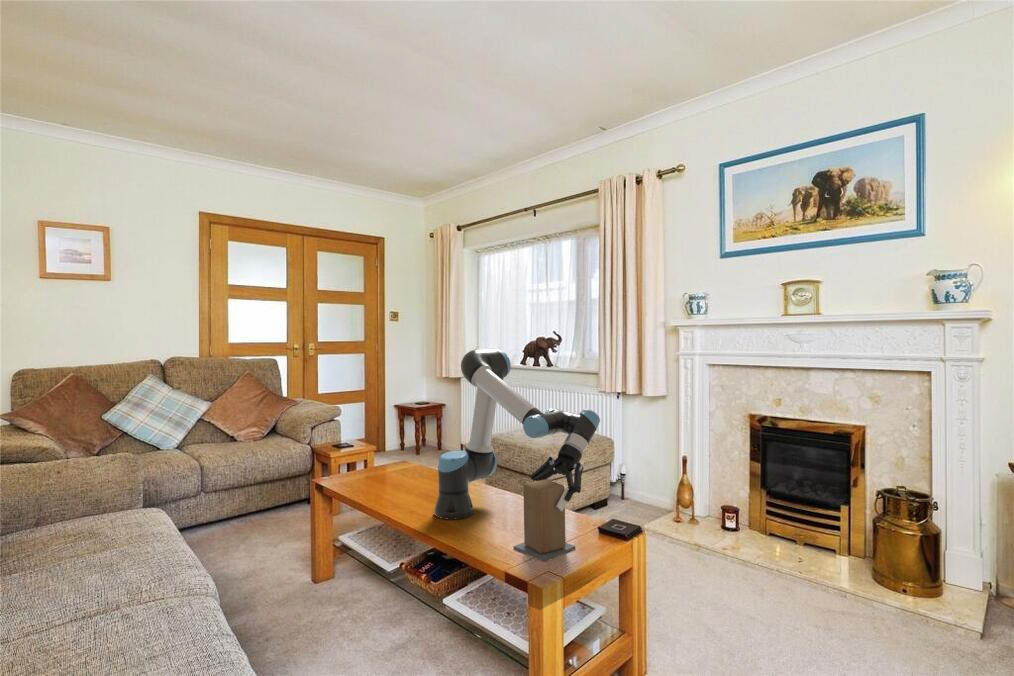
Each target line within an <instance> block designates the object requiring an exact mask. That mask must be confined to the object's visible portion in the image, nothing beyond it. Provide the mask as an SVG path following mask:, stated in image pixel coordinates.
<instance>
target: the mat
mask: <svg viewBox="0 0 1014 676" xmlns="http://www.w3.org/2000/svg"><path fill="white" fill-rule="evenodd" d="M574 548H576V545H573V544H570V543H567V542H566V546H565V548H563V549H559V550H555V551H551V552H547V553H544V554H540V553H538V552H536V551H535V550H533V549H531V548H530V547H528V546H526V545H525V542H524V541H523V542H521V543H518V544H516V545H513V550H514V551H517V552H520V553H522V554H525V555H527V556H530V557H532V558H535V559H538V560H541V561H543V562H548V560H549V561H550V559H551V560H553V559H555V558H557V556H558V557H560V556H561V554H562V555H564V554H567V553H568V551H569V552H571V551H573V550H572V549H574ZM570 550H571V551H570ZM574 550H575V549H574ZM566 552H567V553H566ZM559 555H560V556H559Z"/></svg>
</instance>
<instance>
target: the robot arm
mask: <svg viewBox="0 0 1014 676" xmlns="http://www.w3.org/2000/svg"><path fill="white" fill-rule="evenodd" d="M511 369H512V365H511V359H510V357H508V354H507V353H506V352H504V351H503V350H501V349H495V348H494V349H493V348H491V349H473V350H470V351H468V352H467V353H466V354H464V356H463V357H462V359H461V363H460V370H461V374H462V375H463V377H464V378H465V379H466V381H467V382H468V383H470V384H471V385H472V386H474V387H475V388H476V395H475V402H474V407H473V408H474V409H473V418H472V424H471V430H470V431H471V432H470V440H469V441H468V442H467V443H466V444H465V446H464V447H465V449H464V450H452V451H451V450H450V451H447V452H445V453H442V454H441V455H440V456H439V457H438V465H437V471H438V472H437V473H438V474H437V475H438V496H437V499H436V503H435V507H434V510H433V511H434V515H435V514H436V515H437V516H439V517H442V518H448V519H447V520H456V519H455V518H462V519H465V518H464V517H466V518H468V517H467V516H469V517H471V516H472V515H473V514H474V505H473V502H472V499H471V496H470V493H469V483H472V482H475V481H478V480H482V479H486V478H487V477H490V476H491V475H493V473H494V472H495V471H496V469H497V466H498V457H497V456H496V452H495V451H494V447H493V445H492V444H491V443H492V436H493V430H494V421H495V415H496V408H497V404H498V405H499V406H501V407H502V408H503V409H504V410H505V411H506V412H507V413H509V415H511V416H513V418H515V420H517V421H518V422H520V423H521V424H522V429H523V431H524V433H525V435H526V436H527V437H528V438H531V439H539V438H544V437H546V436H550V435H555V434H557V433H563V434H567V437H566V438H565V440H564V441H563V444H562V445H561V447H560V448H559V451H558V453H557V458H555V459H554V458H553V457H552V456H549V457H548V458H547V460H546V461H544V463H543V464H542V465H541V466H540V467H538V469H536V470H535V471H534V472H533V473H532V474H531V475H530V479H531V480H532V482H534V481H540V480H546V479H547V480H549V478H551V477H552V476H554V475H557V474H558V475H562V476H565V478H566V483H567V487H566V488H565V491H564V493H563V494H562V496H561V498H560V500H559V502H558V504H557V506H556V507H557V508H558V509H559V510H560V511H563V509H564V507H565V508H566V505H567V503H568V502H570V501H571V499H572V497H573V495H574V494H575V493H578V494H580V493H581V491H582V473H583V472H584V471H583V470H584V466H583V465H582V464H581V463H580V462H581V459H582V458H583V455H584V453H585V452H586V450H587V448H588V446H589V444H590V442H591V441H592V440H591V439H592V438H593V437H594V435H595V433H596V432H597V429H598V427H599V425H600V423H601V418H600V416H599V415H598V413H597V412H595V411H594V410H591V409H587V408H585V409H582V410H581V411H580V412H579V413H572V412H568V411H565V410H561V409H560V408H548V409H547V411H545V412H542V411H540V410H539V409H538V408H537V407H535V405H534V404H532V403H531V402H530V401H529V400H528V399H526V398H525V397H523V396H522V395H521V394H520V393H519V392H518V391H516V390H515V389H514V388H513V387H512V386H510V384H508V383H507V382H506V381H504V378H506V377H508V375H509V374H510V372H511ZM573 471H574V476H573ZM573 477H574V478H573ZM470 515H471V516H470Z"/></svg>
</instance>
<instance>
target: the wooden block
mask: <svg viewBox="0 0 1014 676" xmlns="http://www.w3.org/2000/svg"><path fill="white" fill-rule="evenodd" d="M522 488H523V490H522V491H523V533H524V534H523V536H524V537H523V538H524V539H523V540H524V541H523V542H525V545H526V546H528V547H530V548H531V549H533V550H535V551H536V552H538V553H540V554H544V553H547V552H551V551H555V550H559V549H563V548H565V546H566V543H567V541H566V540H567V539H566V506H565V507H564V509H563V511H560V510H559V509H558V508H557V507H556V506H557V504H558V502H559V500H560V498H561V496H562V494H563V493H564V491H565V489H566V488H565V486H564V485H563V484H561V483H558V482H555V481H552V480H550V479H546V480H540V481H534V482H533V481H530V482H529V481H528V482H525V483H524V484H523V487H522Z"/></svg>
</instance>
